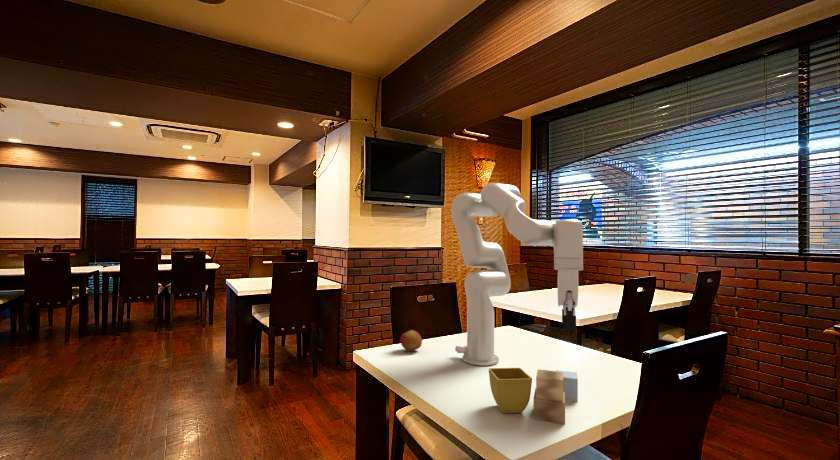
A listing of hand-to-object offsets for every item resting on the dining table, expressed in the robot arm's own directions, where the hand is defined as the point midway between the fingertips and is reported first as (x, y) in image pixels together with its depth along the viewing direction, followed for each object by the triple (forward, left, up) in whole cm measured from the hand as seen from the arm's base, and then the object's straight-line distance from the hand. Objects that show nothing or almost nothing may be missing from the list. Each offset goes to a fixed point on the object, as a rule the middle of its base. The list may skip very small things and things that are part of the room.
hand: (568, 326), depth 107 cm
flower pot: (-14, -14, -19) cm, 28 cm away
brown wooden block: (-5, -15, -19) cm, 24 cm away
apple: (-56, +24, -19) cm, 64 cm away
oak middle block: (-5, -15, -14) cm, 21 cm away
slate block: (-1, -1, -19) cm, 19 cm away
